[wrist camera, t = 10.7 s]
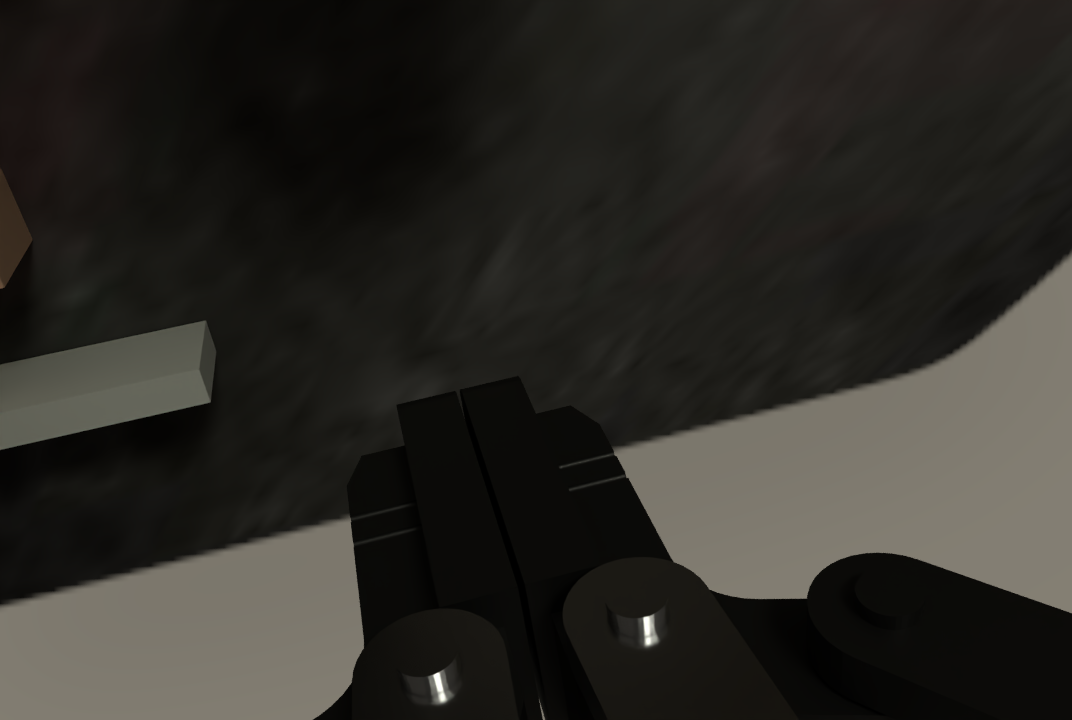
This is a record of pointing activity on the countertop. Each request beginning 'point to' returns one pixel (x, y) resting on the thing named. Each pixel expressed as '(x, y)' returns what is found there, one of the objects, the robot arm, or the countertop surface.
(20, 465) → the countertop surface
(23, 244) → the brown rectangular block
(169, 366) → the tray
